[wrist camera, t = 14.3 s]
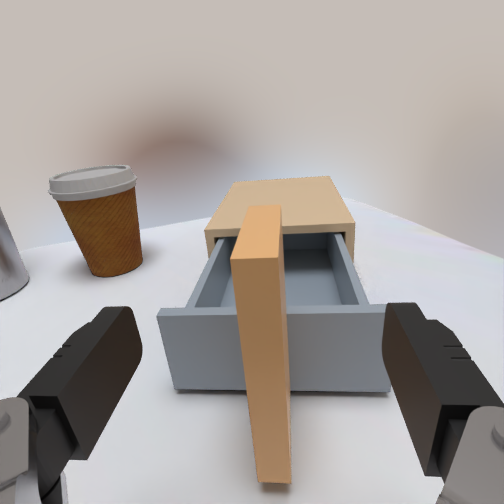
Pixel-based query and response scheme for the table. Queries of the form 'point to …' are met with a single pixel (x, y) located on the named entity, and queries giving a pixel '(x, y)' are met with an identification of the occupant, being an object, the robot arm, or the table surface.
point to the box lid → (285, 208)
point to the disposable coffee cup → (101, 216)
